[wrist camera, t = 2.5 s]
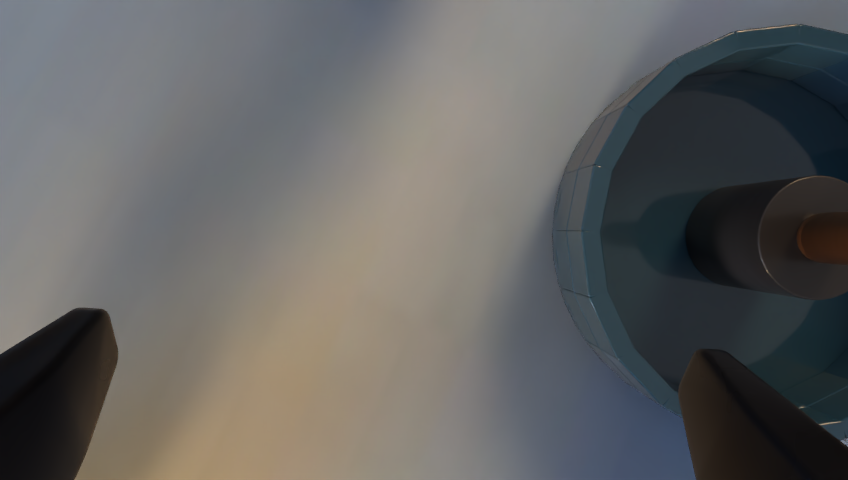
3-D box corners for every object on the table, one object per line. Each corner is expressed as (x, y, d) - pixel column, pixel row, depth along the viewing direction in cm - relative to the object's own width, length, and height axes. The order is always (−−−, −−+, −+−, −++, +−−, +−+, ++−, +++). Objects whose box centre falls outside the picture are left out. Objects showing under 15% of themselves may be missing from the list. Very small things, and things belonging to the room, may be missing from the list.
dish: (913, 385, 26) (1012, 415, 22) (574, 434, 26) (610, 475, 21) (875, 40, 26) (968, 3, 22) (531, 80, 25) (559, 50, 21)
